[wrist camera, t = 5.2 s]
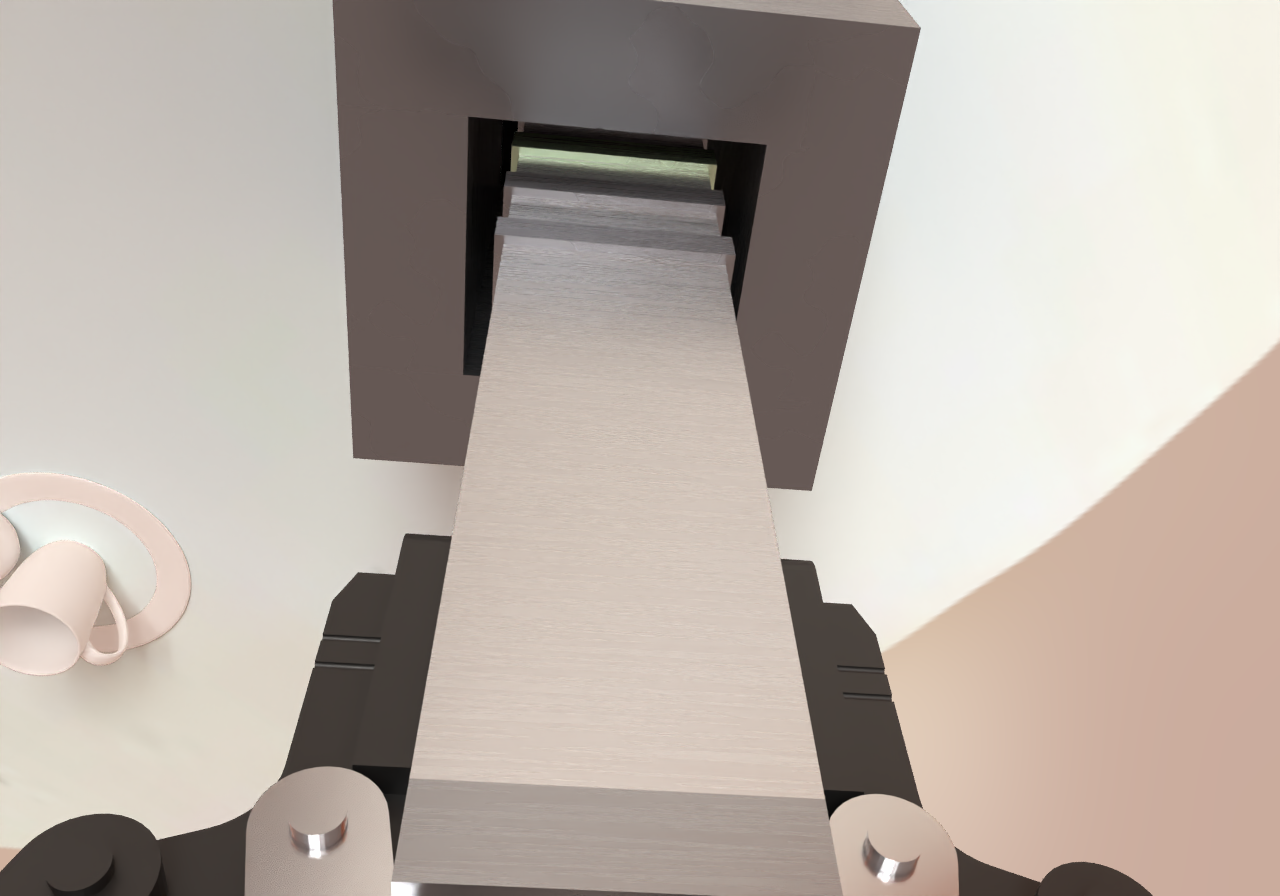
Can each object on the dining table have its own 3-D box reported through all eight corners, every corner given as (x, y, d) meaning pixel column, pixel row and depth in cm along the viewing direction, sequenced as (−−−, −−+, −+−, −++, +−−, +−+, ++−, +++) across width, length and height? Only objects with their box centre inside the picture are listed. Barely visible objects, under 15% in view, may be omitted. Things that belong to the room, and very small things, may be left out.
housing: (371, -183, 27) (244, -91, 17) (879, -126, 28) (1014, -9, 18) (382, 283, 34) (295, 527, 24) (790, 317, 34) (856, 565, 25)
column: (522, 88, 24) (371, 868, 9) (705, 106, 25) (867, 890, 9) (514, 256, 27) (382, 1116, 11) (682, 270, 27) (781, 1127, 11)
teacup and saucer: (-121, 517, 38) (-190, 600, 35) (45, 406, 36) (-13, 483, 33) (84, 672, 43) (39, 759, 39) (243, 582, 40) (210, 666, 37)
